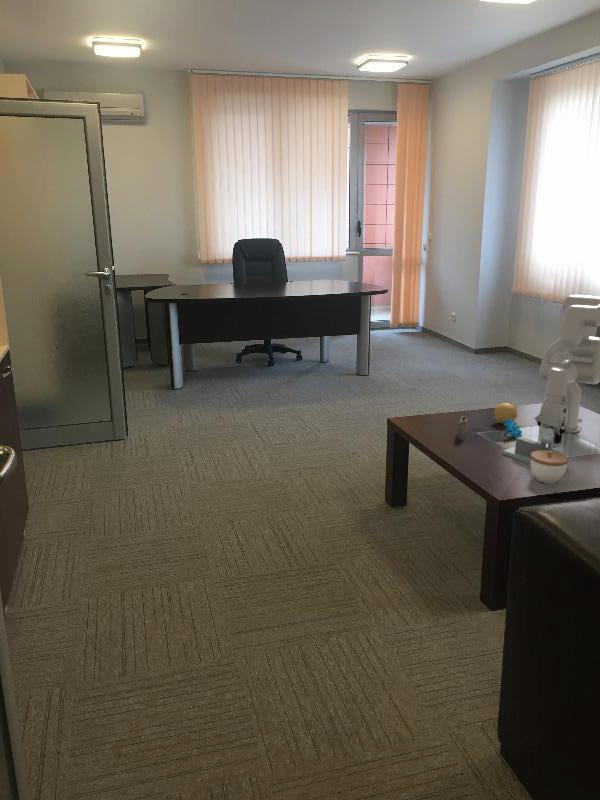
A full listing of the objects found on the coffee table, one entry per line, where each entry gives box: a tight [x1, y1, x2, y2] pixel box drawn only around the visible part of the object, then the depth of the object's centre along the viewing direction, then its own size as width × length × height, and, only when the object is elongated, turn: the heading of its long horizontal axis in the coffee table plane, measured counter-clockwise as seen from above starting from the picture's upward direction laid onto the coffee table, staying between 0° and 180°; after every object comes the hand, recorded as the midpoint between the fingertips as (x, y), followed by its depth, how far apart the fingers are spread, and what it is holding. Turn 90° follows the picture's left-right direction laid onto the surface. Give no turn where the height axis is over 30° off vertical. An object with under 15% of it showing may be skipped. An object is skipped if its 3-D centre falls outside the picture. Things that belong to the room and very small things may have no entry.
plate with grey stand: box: [502, 436, 567, 465], centre depth 257 cm, size 18×16×8 cm
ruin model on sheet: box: [457, 415, 470, 441], centre depth 279 cm, size 11×3×10 cm, turn 159°
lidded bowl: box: [529, 450, 569, 484], centre depth 233 cm, size 13×13×11 cm
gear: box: [503, 418, 523, 439], centre depth 281 cm, size 11×6×10 cm
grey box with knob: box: [537, 425, 564, 450], centre depth 262 cm, size 7×6×8 cm
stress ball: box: [494, 402, 518, 426], centre depth 296 cm, size 10×10×10 cm
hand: (550, 440), depth 262 cm, fingers closed on grey box with knob, 6 cm apart
